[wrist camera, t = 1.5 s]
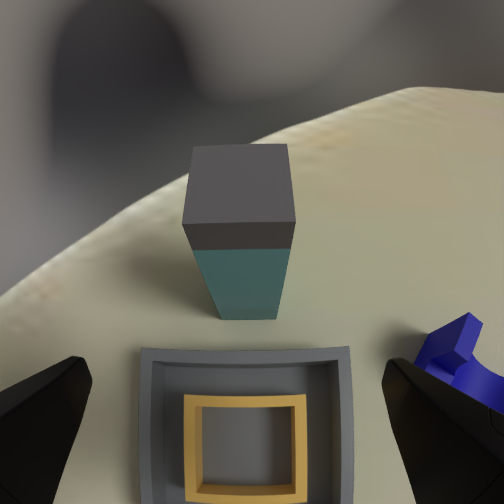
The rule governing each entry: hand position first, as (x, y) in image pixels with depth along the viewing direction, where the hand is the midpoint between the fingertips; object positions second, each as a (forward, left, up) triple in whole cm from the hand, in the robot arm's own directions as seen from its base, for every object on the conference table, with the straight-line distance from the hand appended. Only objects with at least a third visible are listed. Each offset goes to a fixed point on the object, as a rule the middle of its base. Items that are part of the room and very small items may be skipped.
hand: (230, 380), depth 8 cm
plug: (+6, +5, -13) cm, 15 cm away
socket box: (-3, -2, -13) cm, 14 cm away
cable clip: (+9, -15, -14) cm, 23 cm away
